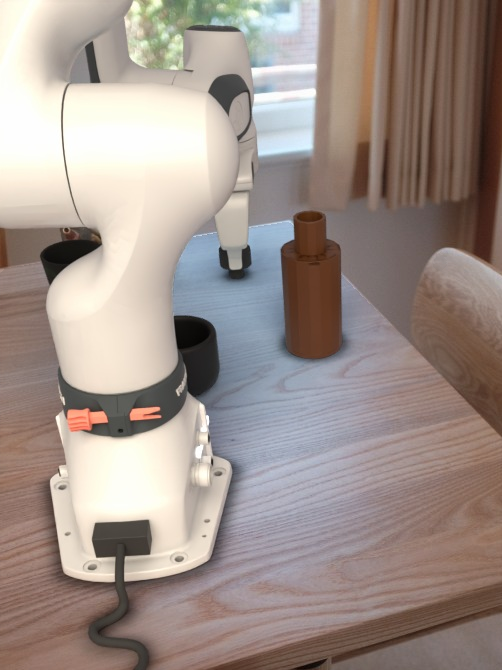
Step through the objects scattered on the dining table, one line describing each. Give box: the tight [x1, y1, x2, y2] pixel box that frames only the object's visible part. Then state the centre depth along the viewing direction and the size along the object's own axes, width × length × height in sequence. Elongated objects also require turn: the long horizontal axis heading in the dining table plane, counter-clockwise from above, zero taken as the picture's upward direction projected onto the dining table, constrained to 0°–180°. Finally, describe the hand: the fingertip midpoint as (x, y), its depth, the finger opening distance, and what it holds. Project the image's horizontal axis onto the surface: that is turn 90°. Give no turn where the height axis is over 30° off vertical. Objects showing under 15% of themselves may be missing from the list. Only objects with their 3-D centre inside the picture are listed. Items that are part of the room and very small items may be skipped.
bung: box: [218, 243, 253, 280], centre depth 132 cm, size 5×5×4 cm
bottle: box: [279, 210, 343, 360], centre depth 112 cm, size 7×7×17 cm
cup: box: [39, 239, 101, 287], centre depth 115 cm, size 8×8×12 cm
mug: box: [174, 314, 221, 397], centre depth 107 cm, size 12×9×7 cm
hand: (234, 253), depth 131 cm, fingers open, 8 cm apart
